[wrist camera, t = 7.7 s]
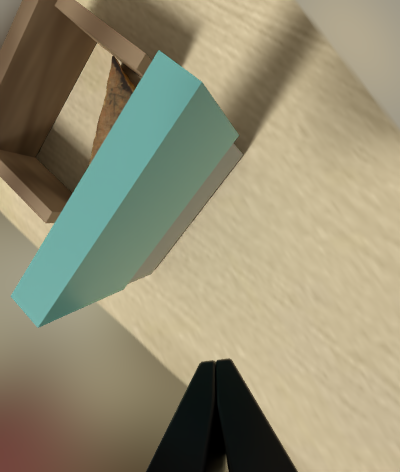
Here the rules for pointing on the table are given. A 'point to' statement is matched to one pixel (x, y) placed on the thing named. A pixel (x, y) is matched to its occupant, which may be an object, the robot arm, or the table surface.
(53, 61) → the box
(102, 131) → the shard
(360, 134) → the table surface
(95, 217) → the block
